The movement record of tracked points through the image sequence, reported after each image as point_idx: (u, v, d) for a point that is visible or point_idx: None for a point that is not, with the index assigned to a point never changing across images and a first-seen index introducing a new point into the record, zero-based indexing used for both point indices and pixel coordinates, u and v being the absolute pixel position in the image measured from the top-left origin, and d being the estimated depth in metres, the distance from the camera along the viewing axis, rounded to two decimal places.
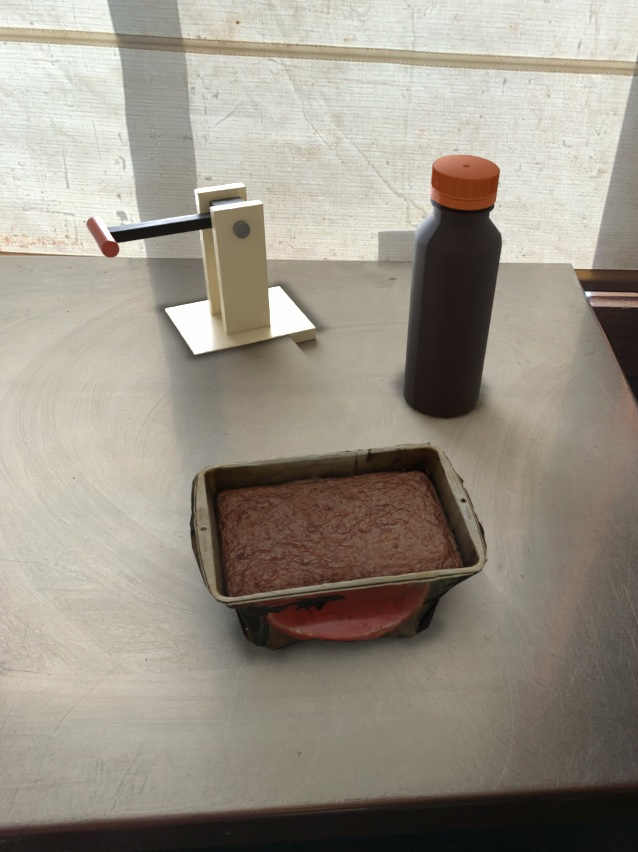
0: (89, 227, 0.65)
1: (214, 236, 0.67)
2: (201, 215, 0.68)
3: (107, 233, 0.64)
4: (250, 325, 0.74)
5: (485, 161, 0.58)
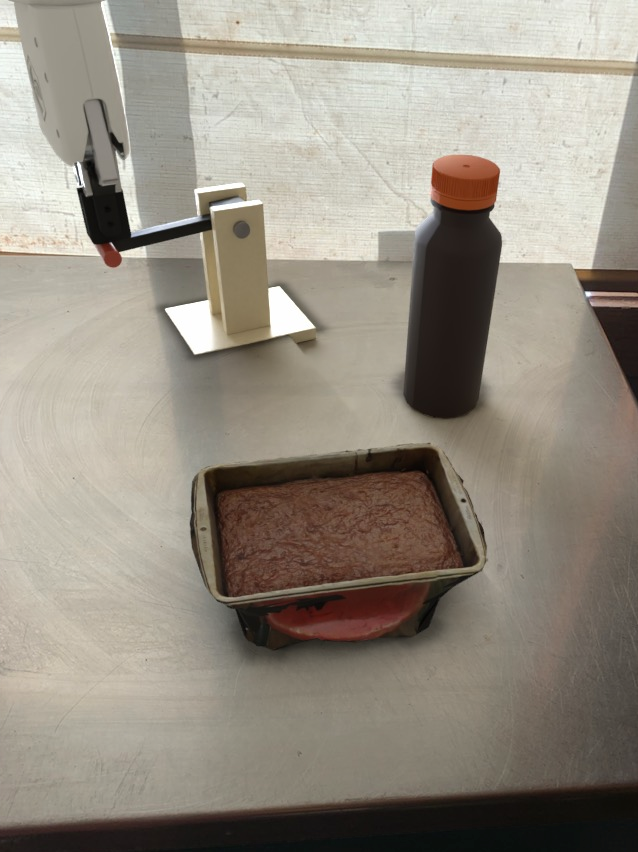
0: None
1: (214, 236, 0.67)
2: (201, 217, 0.68)
3: (109, 243, 0.64)
4: (250, 325, 0.74)
5: (485, 161, 0.58)
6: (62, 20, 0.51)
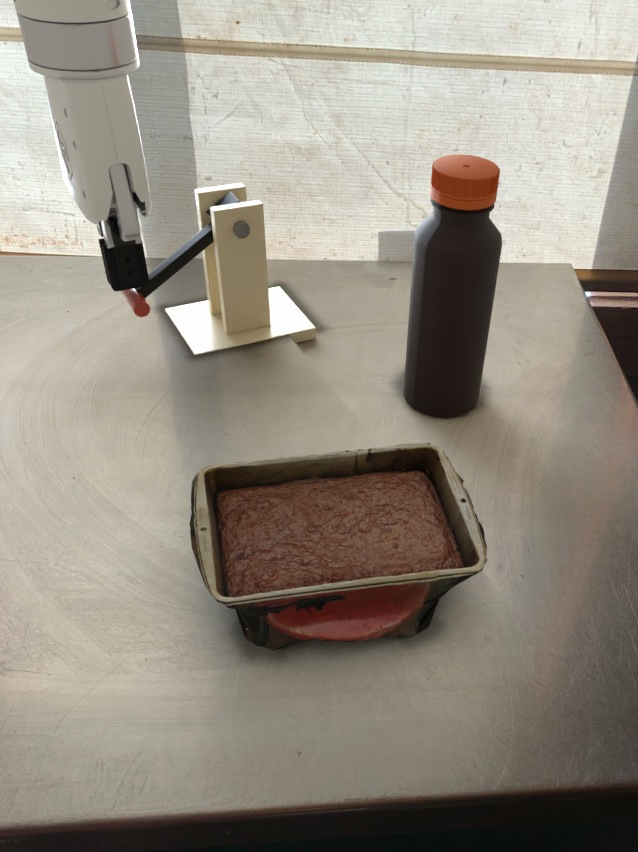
0: (121, 291, 0.70)
1: (214, 236, 0.67)
2: (204, 230, 0.69)
3: (134, 295, 0.68)
4: (250, 325, 0.74)
5: (485, 161, 0.58)
6: (91, 93, 0.54)
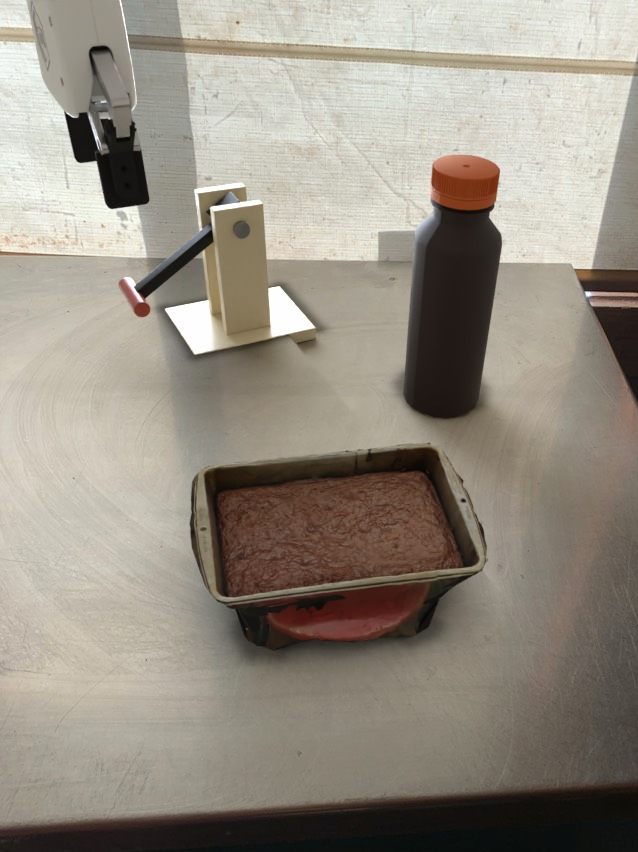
0: (121, 291, 0.70)
1: (214, 236, 0.67)
2: (204, 230, 0.69)
3: (134, 295, 0.68)
4: (250, 325, 0.74)
5: (485, 161, 0.58)
6: None
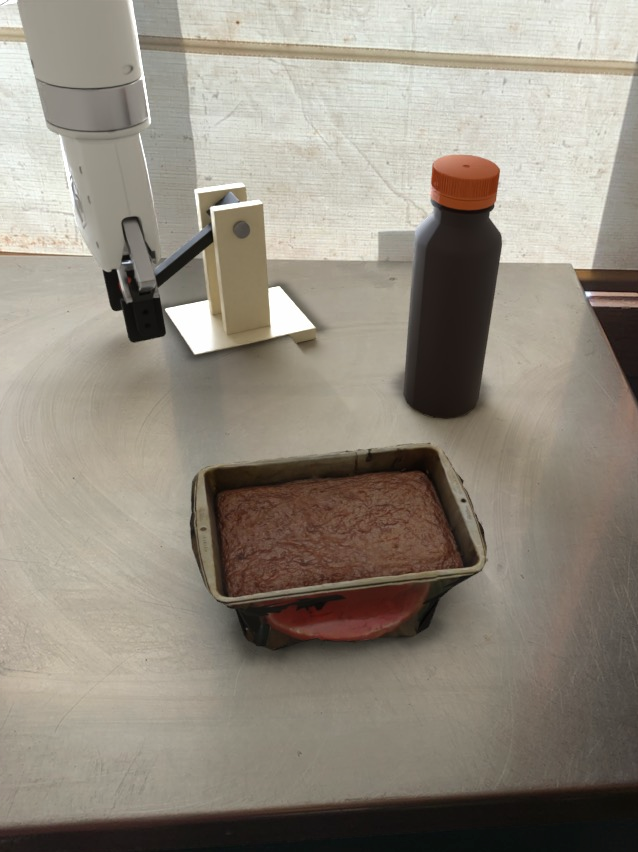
0: (121, 291, 0.70)
1: (214, 236, 0.67)
2: (204, 230, 0.69)
3: None
4: (250, 325, 0.74)
5: (485, 161, 0.58)
6: (105, 152, 0.57)
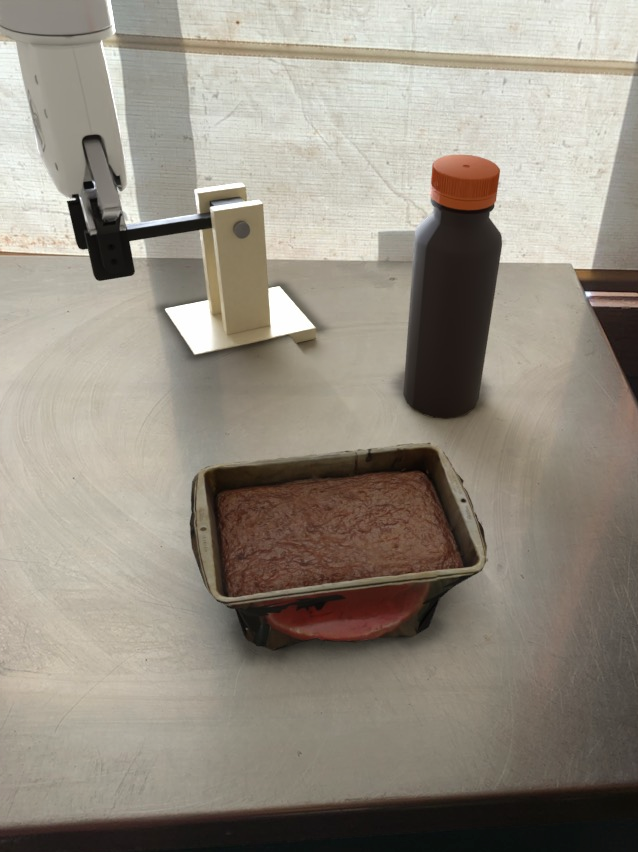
0: None
1: (214, 236, 0.67)
2: (201, 215, 0.68)
3: None
4: (250, 325, 0.74)
5: (485, 161, 0.58)
6: (62, 59, 0.52)
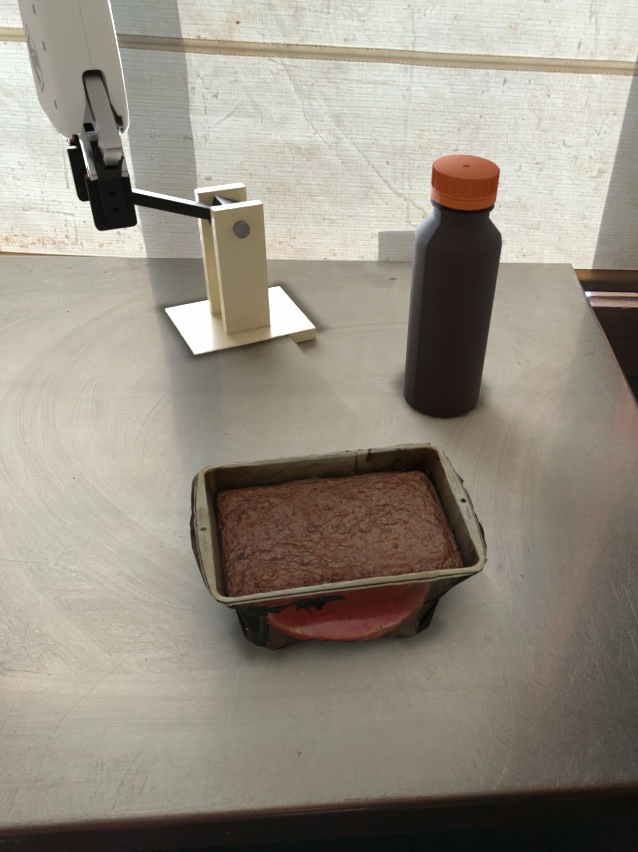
0: None
1: (214, 236, 0.67)
2: (203, 204, 0.67)
3: None
4: (250, 325, 0.74)
5: (485, 161, 0.58)
6: None
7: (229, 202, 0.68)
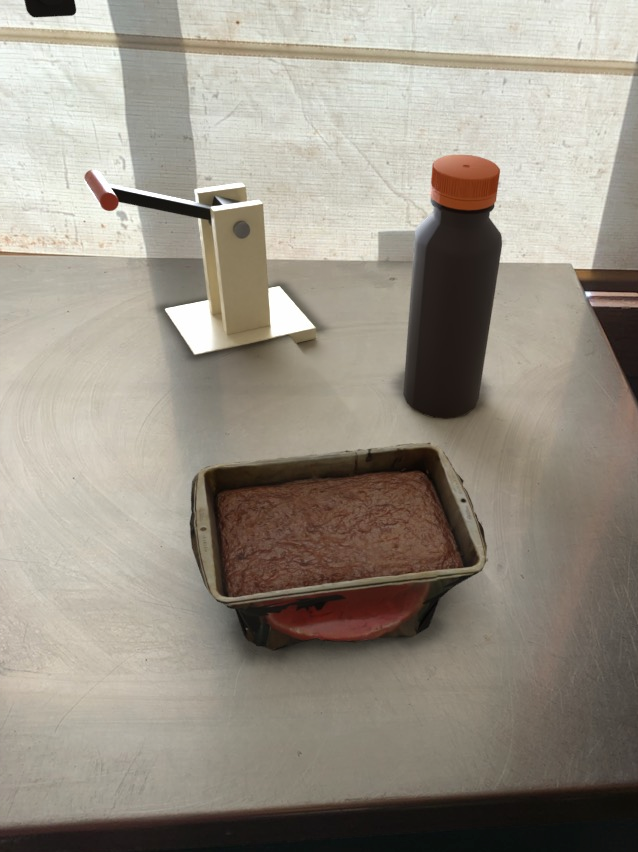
0: (88, 177, 0.63)
1: (214, 236, 0.67)
2: (203, 205, 0.67)
3: (109, 187, 0.62)
4: (250, 325, 0.74)
5: (485, 161, 0.58)
6: None
7: (229, 202, 0.68)
